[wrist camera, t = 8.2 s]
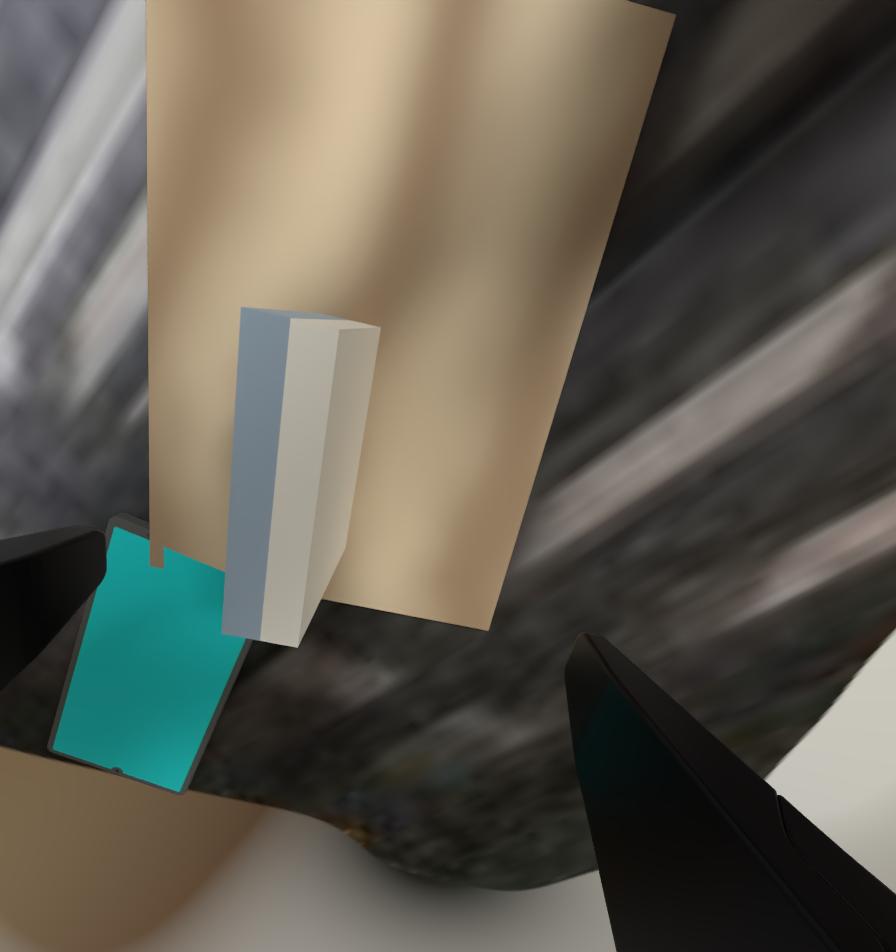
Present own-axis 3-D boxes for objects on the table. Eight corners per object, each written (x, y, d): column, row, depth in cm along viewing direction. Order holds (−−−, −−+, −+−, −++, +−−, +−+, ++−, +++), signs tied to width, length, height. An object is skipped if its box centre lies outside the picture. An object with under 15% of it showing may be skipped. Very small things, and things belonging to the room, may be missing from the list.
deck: (381, 327, 15) (339, 329, 10) (345, 547, 18) (297, 648, 13) (319, 313, 15) (241, 307, 10) (293, 537, 18) (221, 633, 13)
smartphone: (276, 583, 19) (183, 797, 23) (283, 573, 20) (191, 781, 24) (107, 512, 18) (43, 750, 22) (122, 504, 19) (57, 735, 23)
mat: (669, 23, 13) (676, 14, 13) (487, 624, 20) (488, 630, 20) (154, -124, 12) (145, -138, 12) (155, 561, 19) (149, 565, 19)
